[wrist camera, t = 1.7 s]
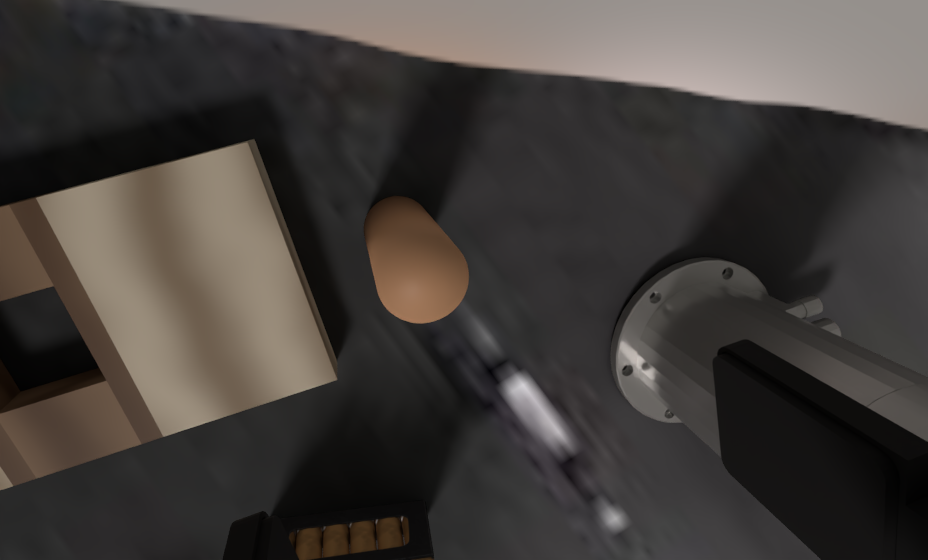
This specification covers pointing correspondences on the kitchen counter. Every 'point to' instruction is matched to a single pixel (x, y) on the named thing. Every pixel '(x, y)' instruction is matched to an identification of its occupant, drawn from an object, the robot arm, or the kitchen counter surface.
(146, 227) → the plywood deck
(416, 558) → the ammunition clip
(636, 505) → the kitchen counter surface
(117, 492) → the kitchen counter surface
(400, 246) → the peg
